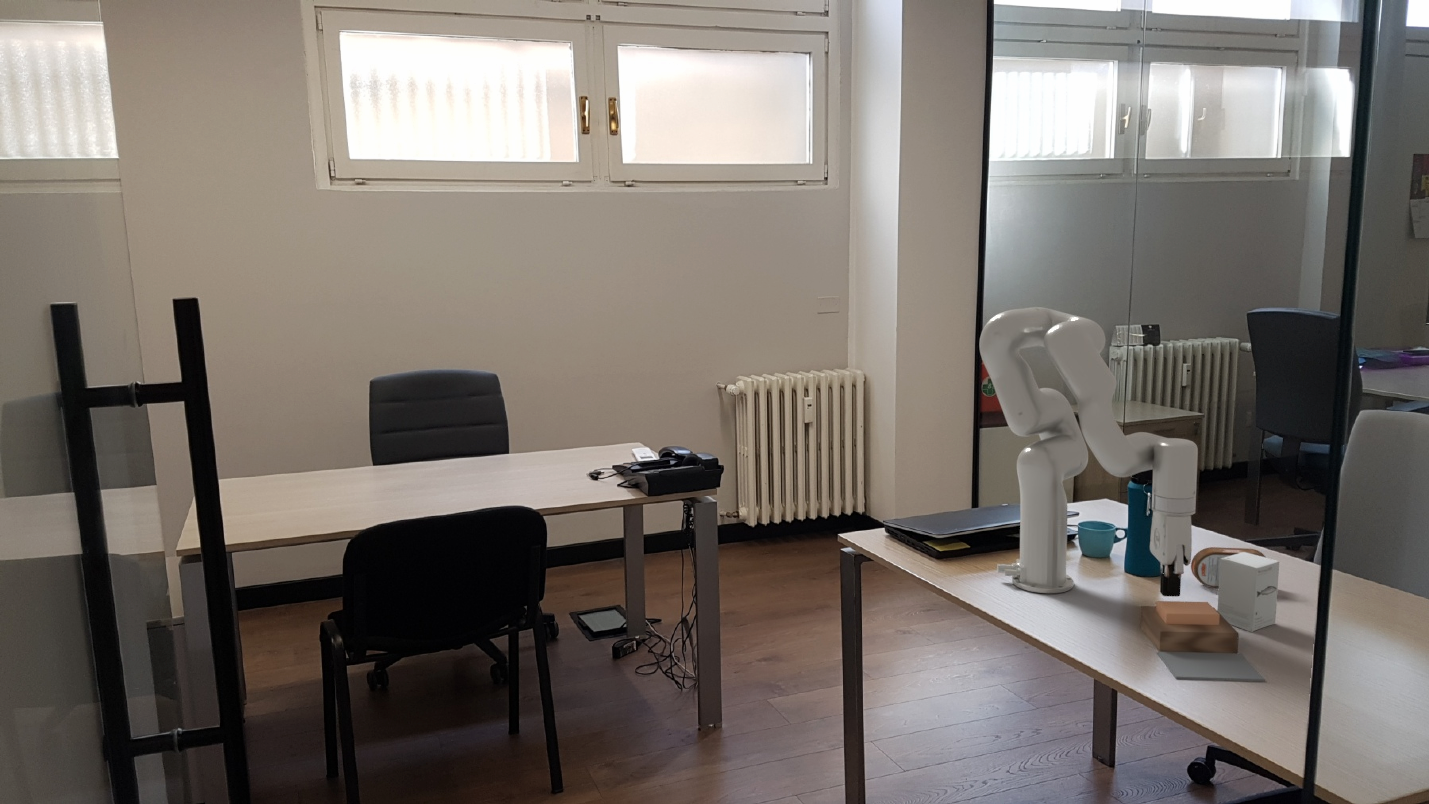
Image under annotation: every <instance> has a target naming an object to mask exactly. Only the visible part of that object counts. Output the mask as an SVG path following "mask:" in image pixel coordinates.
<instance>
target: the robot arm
mask: <svg viewBox="0 0 1429 804" xmlns="http://www.w3.org/2000/svg"><path fill="white" fill-rule="evenodd" d="M980 333H981V334H980V337H979V346H978V347H979V353H980V356H981V359H982V363H983V365H984V367H985V369H986V371H987V374H988V376H989V377H990V380H991V383H992V385H993V388H994V391H995V394H996V397H997V399H998V402H999V404H1000V407H1001V410H1002V412H1003V413H1002V414H1003V415H1004V418H1005V421H1006V423H1007V426H1008V427H1009V429H1010V431H1011V432H1012V433H1013V434H1014V435H1017V436H1018V437H1023V438H1024V437H1025V438H1026V437H1027V438H1028V437H1033V436H1039V437H1038V438H1039V439H1040V440H1037V441H1034V442H1032V443H1029V444H1028V445H1026V446H1025V447H1024V448H1023V449H1022V450H1021V451H1020V453H1019V455H1018V456H1017V459H1016V472H1017V474H1016V475H1017V478H1018V479H1017V480H1018V485H1019V496H1020V499H1019V500H1020V504H1019V505H1020V510H1019V511H1020V512H1019V513H1020V519H1019V521H1020V522H1019V523H1020V525H1019V526H1020V527H1019V528H1020V529H1019V558H1016V562H1012V563H1011V564H1006V563H997V565H996V572H997V573H998V574H999V573H1002V574H1004V576H1009V577H1011V582H1012V584H1013V585H1014V586H1015V587H1018V588H1019V589H1021V590H1024V591H1028V592H1032V593H1037V594H1039V593H1041V594H1059V593H1064V592H1067V591H1070V590H1072V589H1073V587H1074V581H1075V580H1074V579H1073V578H1072V577H1071V576H1070V575H1068V574H1067V554H1068V552H1067V551H1068V549H1067V545H1068V500H1067V495H1066V491H1065V489H1064V483H1063V482H1064V481H1066V480H1069V479H1070V478H1073V477H1074V478H1075V476H1076V477H1077V476H1078V475H1080V474H1081V473H1083V471H1085V469H1086V467H1087V465H1088V462H1089V451H1088V448H1089V450H1090V451H1091V452H1092V454H1093V456H1094V458H1095V459H1096V461H1098V463H1099V464H1100V466H1101V467H1102V468H1103V469H1104V470H1105V471H1106V472H1107V473H1109V475H1112V476H1114V477H1117V478H1127V477H1131V476H1134V475H1136V474H1139V473H1142V472H1147V471H1151V470H1152V488H1151V490H1152V491H1151V493H1152V494H1151V510H1152V517H1151V527H1150V540H1149V541H1150V542H1149V551H1150V553H1151V554H1152V555H1153V556H1154V557H1155V558H1156V559H1157V560H1158V562H1159V563H1160V580H1159V581H1160V582H1159V583H1160V585H1159V586H1160V587H1159V590H1160V591H1159V592H1160V594H1161V595H1162V596H1163V597H1180V596H1181V585H1182V584H1181V582H1182V575H1184V572H1185V571H1184V569H1185V568H1184V567H1187V566H1189V565H1191V562H1192V551H1193V548H1192V545H1193V544H1192V543H1193V541H1192V540H1193V539H1192V538H1193V537H1192V535H1193V533H1192V516H1193V515H1194V514H1196V501H1197V478H1198V477H1197V476H1198V456H1199V455H1198V454H1199V451H1198V450H1199V449H1198V445H1197V444H1196V443H1195V442H1194V441H1193V440H1190V439H1187V438H1186V439H1185V438H1177V437H1174V438H1173V437H1165V436H1162V435H1157V434H1154V433H1150V432H1146V431H1144V432H1143V431H1140V432H1134V433H1131V434H1127V435H1125V434H1124V432H1123V430H1122V429H1121V427H1120V426H1119V424H1118V422H1117V420H1116V418H1115V416H1114V415H1115V414H1114V410H1113V406H1112V405H1113V396H1114V394H1115V392H1116V388H1117V379H1116V377H1115V375H1114V374H1113V373H1112V371H1111V370H1110V368H1109V367H1108V365H1107V363H1106V362H1105V360H1104V359H1103V357H1102V356H1101V352H1103V350H1104V348H1105V346H1106V335H1105V332H1104V329H1102V327H1101V326H1100V325H1099V324H1098V323H1097V322H1096V321H1094V320H1092V319H1090V318H1087V317H1082V316H1078V315H1075V314H1071V313H1067V312H1062V311H1060V310H1056V309H1051V308H1047V307H1041V306H1033V307H1025V308H1016V309H1010V310H1005V311H1003V312H1000V313H999V312H998V314H995V315H994V316H993V317H991V318H990V319H989V320H987V323H986V324H984V326H983V328H982V331H981V332H980ZM1033 347H1043V348H1044V349H1045V351H1046V353H1047V356H1048V357H1049V359H1050V360H1051V362H1052V363H1053V365H1054V367H1055V368H1056V370H1057V372H1058V373H1059V375H1060V376H1061V378H1062V380H1063V381H1064V383H1065V385H1066V386H1067V388H1068V389H1069V390H1070V393H1071V394H1072V396H1073V397H1074V399H1075V401H1076V403H1077V414H1078V420H1079V423H1078V420H1077V418H1076V415H1075V413H1074V410H1073V408H1072V406H1071V404H1070V402H1069V400H1068V399H1067V398H1066V396H1065V395H1063V394H1062V393H1061V392H1060V391H1058V390H1057V389H1055V388H1050V387H1042V388H1039V386H1038V384H1037V381H1036V379H1035V376H1034V373H1033V371H1032V369H1031V367H1030V365H1029V364H1028V362H1027V360H1025V359H1024V358H1023V356H1022V355H1021V354H1020V350H1021V349H1028V348H1033Z"/></svg>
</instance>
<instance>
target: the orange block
mask: <svg viewBox="0 0 1429 804" xmlns="http://www.w3.org/2000/svg"><path fill="white" fill-rule="evenodd" d="M1155 606H1156V612H1157V613H1158V614H1159V616H1160V617H1161V618H1162V619H1163V621H1164V622H1165V623H1166V624H1198V625H1219V617H1220V614H1219V613H1218V612H1217V611H1216V610H1217V609H1216V608H1215V607H1214V608H1215V609H1216V610H1215V609H1214V608H1213V606H1212V605H1211V604H1210V603H1209V602H1208V601H1179V600H1177V601H1175V600H1174V601H1173V600H1170V601H1169V600H1165V601H1164V600H1156V602H1155Z"/></svg>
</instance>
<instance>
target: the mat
mask: <svg viewBox="0 0 1429 804" xmlns="http://www.w3.org/2000/svg"><path fill="white" fill-rule="evenodd" d="M1157 655H1158V656H1159V658H1160V659H1161V661H1162V662H1163V663H1164V664H1165V666H1166V667H1167V669H1168V671H1169V672H1170V673H1171V675H1172V676H1173V678H1174V679H1175V680H1199V681H1200V680H1207V681H1208V680H1209V681H1235V682H1236V681H1237V682H1265V683H1266V678H1265V677H1264V676H1263V675H1262V674H1261V673H1260V672H1259V671H1258V669H1256V667H1255V666H1254V665H1253V664H1252V663H1251V662H1250V661H1249V660H1248V658H1247V657H1245V655H1244V654H1242V653H1237V654H1236V653H1199V652H1162V651H1158V650H1157Z"/></svg>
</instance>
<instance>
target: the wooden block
mask: <svg viewBox="0 0 1429 804" xmlns="http://www.w3.org/2000/svg"><path fill="white" fill-rule="evenodd" d="M1212 607H1213V606H1212ZM1213 608H1214V609H1215V610H1216V611H1217V610H1218V609H1216V608H1215V607H1213ZM1217 612H1218V611H1217ZM1218 613H1219V612H1218ZM1219 614H1220V613H1219ZM1139 618H1140V620H1139V621H1140V624H1139V626H1140V627H1141V629H1142V630H1143V632H1144V634H1146V636H1147V637H1148V639H1149V640H1150V641H1151V643H1152V644H1153V646H1154V647H1155V648H1156V650H1157V652H1158V651H1162V652H1199V653H1236V654H1239V653H1238V652H1239V650H1238V649H1239V632H1238V631H1237V630H1236V629H1235V628H1234V626H1233V625H1230V624H1229V623H1228V622H1227V621H1226V620H1225V619H1224V618H1223V616H1222V615H1221V614H1220V617H1219V625H1198V624H1166V623H1165V622H1164V621H1163V619H1162V618H1161V617H1160V616H1159V614H1158V613H1157V612H1156V605H1153V606H1152V605H1141V606H1140V617H1139Z"/></svg>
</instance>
